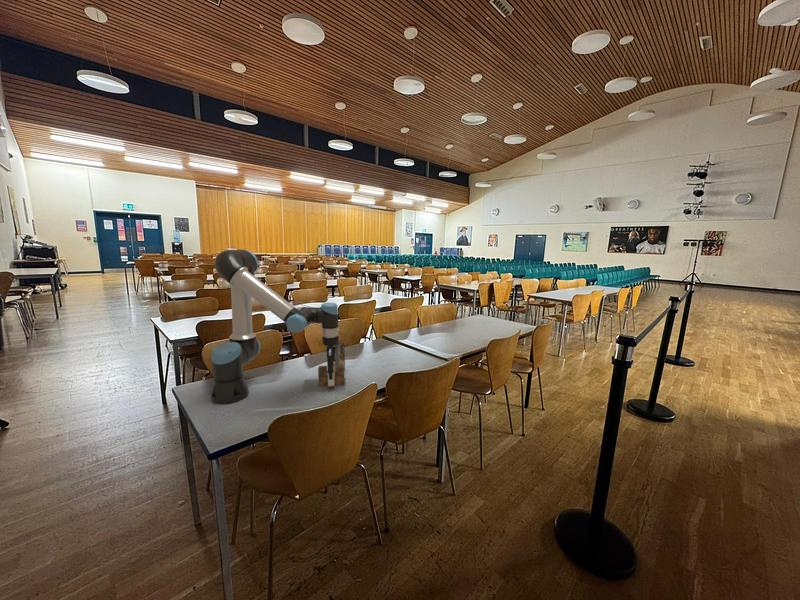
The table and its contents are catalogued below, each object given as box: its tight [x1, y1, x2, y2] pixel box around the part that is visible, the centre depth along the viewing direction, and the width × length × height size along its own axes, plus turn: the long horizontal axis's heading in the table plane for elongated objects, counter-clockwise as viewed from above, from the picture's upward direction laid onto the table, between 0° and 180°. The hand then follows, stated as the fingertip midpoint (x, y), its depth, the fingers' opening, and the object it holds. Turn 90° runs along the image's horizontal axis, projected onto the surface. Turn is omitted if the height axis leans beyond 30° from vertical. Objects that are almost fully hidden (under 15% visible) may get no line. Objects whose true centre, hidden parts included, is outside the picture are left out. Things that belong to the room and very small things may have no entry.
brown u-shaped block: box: [317, 365, 346, 386], centre depth 160 cm, size 12×3×9 cm, turn 98°
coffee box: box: [334, 342, 346, 371], centre depth 174 cm, size 9×6×16 cm
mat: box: [300, 377, 347, 393], centre depth 160 cm, size 20×14×1 cm
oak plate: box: [328, 361, 336, 388], centre depth 159 cm, size 10×3×9 cm, turn 8°
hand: (331, 380), depth 160 cm, fingers closed on oak plate, 10 cm apart
